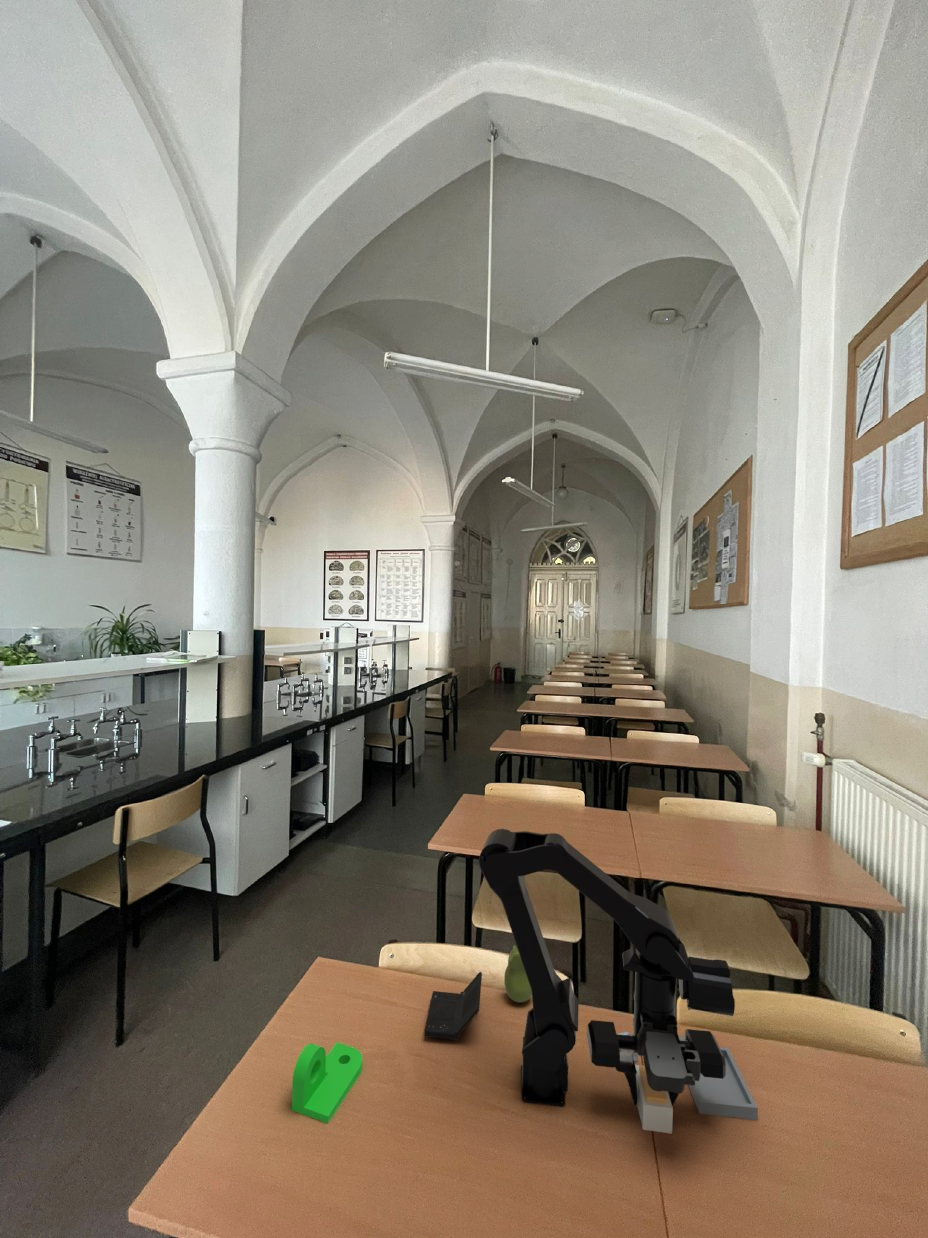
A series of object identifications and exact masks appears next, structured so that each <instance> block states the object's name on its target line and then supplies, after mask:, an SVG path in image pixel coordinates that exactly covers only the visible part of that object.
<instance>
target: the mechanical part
mask: <svg viewBox="0 0 928 1238" xmlns="http://www.w3.org/2000/svg"><path fill="white" fill-rule="evenodd" d="M362 1072H363V1054H362V1053H361V1052H360V1050H359V1049H357V1048H355V1047H352V1046H350V1045H348V1044H347V1045H346V1044H344V1043H340V1042H336V1043H335V1044H334V1045H333V1047H331V1049H330V1051H329V1052H328V1053H326V1049H325V1048H324V1047H323V1046H321V1045H317V1044H314V1043H308V1044H306V1045H305V1046H304V1048H303V1049H302V1050H301V1052H300V1054H299V1056H298V1058H297V1061H296V1064H295V1066H294V1070H293V1075H292V1085H291V1087H292V1088H291V1089H292V1092H291V1093H292V1095H291V1111H292V1112H296V1113H297V1114H301V1115H303V1116H307V1117H309V1118H312V1119H315V1120H318V1121H320V1122H323V1123H326V1124H329V1122H330V1121H331V1120H332V1118H333V1117H334V1115H335V1113H336V1112H337V1111H338V1110H339V1107H340V1106H341V1104H342V1102H343V1101H344V1100H345V1099H346V1097H347V1095H348V1094H349V1092H350V1091H351V1089H352V1088H353V1086H354V1085H355V1083H356V1081H358V1079H359V1077H360V1075H361V1073H362Z"/></svg>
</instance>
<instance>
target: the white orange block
mask: <svg viewBox="0 0 928 1238" xmlns="http://www.w3.org/2000/svg"><path fill="white" fill-rule="evenodd" d="M635 1067H636V1071H637V1074H636V1083H637V1095H638V1100H637V1105H636V1106H637V1109H638V1110H637V1111H638V1113H639V1114H638V1115H639V1118H640V1123H641V1126H642V1127H641V1128H642V1130H644V1131H649V1132H651V1131H652V1132H658V1133H666V1134H673V1120H674V1119H673V1113H674V1109H673V1107H672V1104H671V1101H670V1097H669V1094H668V1091H654V1090H652V1089H651V1088H650V1086H649V1085H648V1082H647V1075H646V1070H645V1064H644V1065H643V1064H635Z"/></svg>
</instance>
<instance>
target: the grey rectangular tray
mask: <svg viewBox="0 0 928 1238" xmlns="http://www.w3.org/2000/svg"><path fill="white" fill-rule="evenodd" d="M719 1047H720V1049H721V1051H722V1053H723V1056H724V1058H725V1063H726V1075H725V1077H724V1078H723V1079H720V1078H711V1077H704V1076H703V1075H702V1074H701V1073H700V1079H699V1081H695V1086H694V1085H688V1087H689V1090H690V1092H691V1096H692V1098H693V1100H694V1103H695V1106H696V1109H697V1112H698V1113H699V1114H701V1115H708V1116H717V1117H727V1118H735V1119H742V1120H744V1119H745V1120H750V1121H751V1120H753V1121H758V1116H759V1108H758V1106H757V1103H756V1101H755V1099H754V1098H753V1096H752V1093H751V1091H750V1089H749V1087H748V1085H747V1083H746V1080H745V1079H744V1077H743V1074H742V1073H741V1070H740V1069H739V1067H738V1064H737V1063H736V1060H735V1059H734V1057H733V1055H732V1052H731V1050H730V1049H729V1047H723V1046H719Z"/></svg>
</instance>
